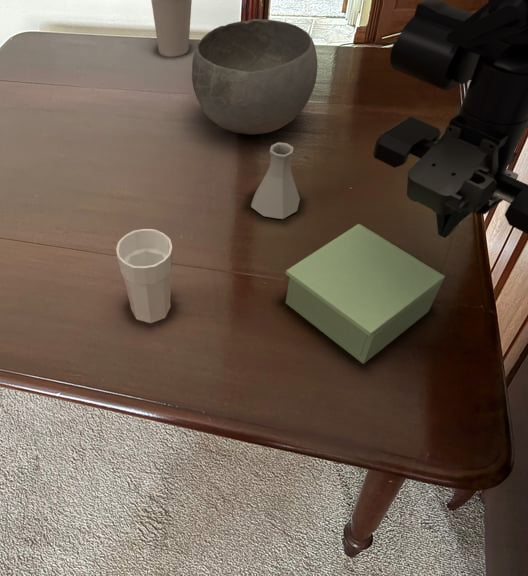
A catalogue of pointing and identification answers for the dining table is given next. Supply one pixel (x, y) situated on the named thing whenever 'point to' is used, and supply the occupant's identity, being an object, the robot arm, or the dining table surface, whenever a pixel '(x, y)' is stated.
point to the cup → (147, 272)
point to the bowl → (254, 74)
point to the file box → (349, 333)
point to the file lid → (364, 278)
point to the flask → (277, 186)
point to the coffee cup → (172, 26)
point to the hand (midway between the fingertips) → (443, 234)
